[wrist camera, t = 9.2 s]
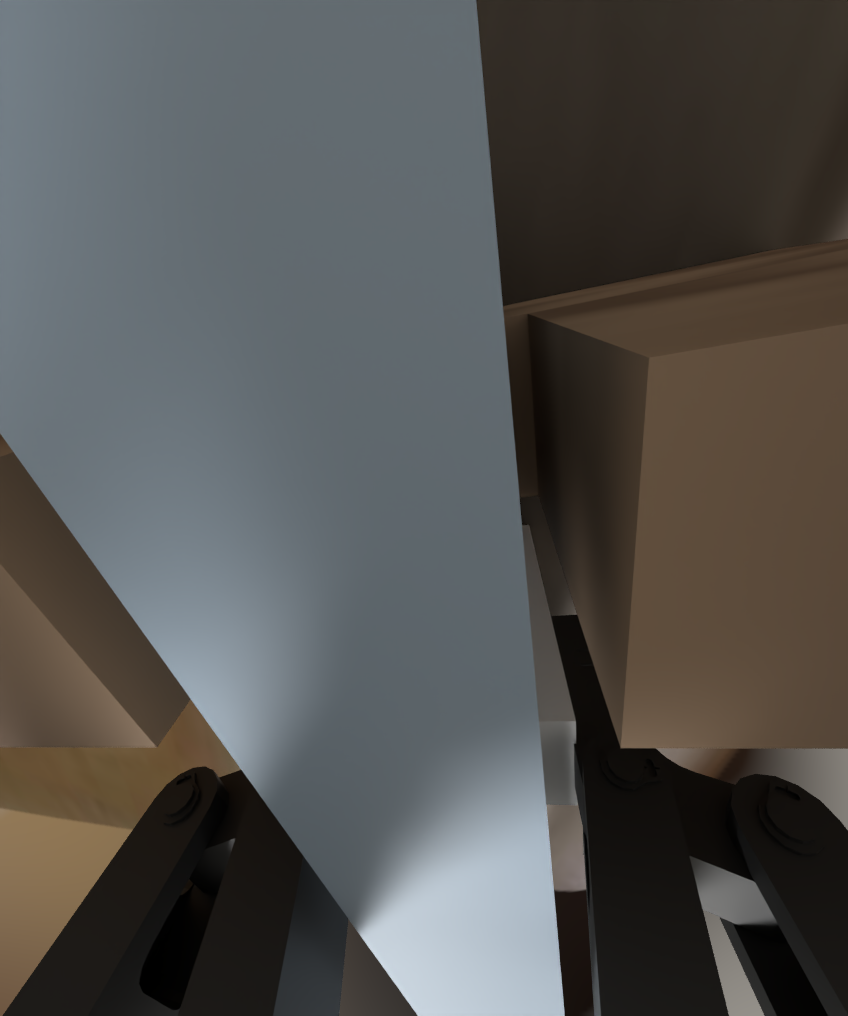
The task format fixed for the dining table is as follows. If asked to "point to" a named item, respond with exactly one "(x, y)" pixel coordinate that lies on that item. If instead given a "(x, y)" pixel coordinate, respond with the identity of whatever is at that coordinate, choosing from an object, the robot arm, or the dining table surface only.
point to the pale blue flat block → (297, 432)
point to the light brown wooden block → (579, 519)
